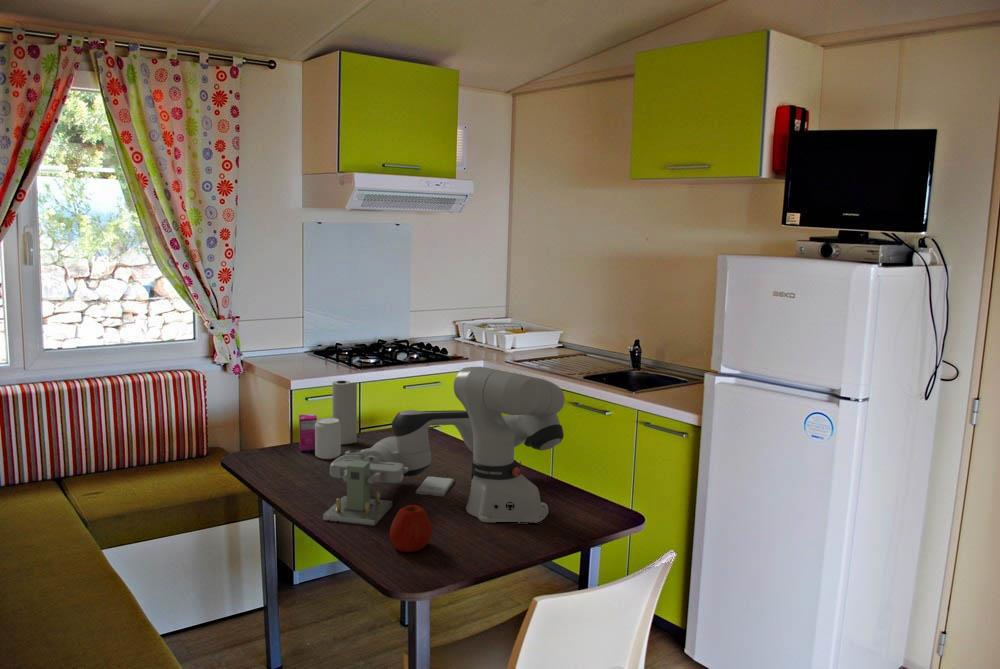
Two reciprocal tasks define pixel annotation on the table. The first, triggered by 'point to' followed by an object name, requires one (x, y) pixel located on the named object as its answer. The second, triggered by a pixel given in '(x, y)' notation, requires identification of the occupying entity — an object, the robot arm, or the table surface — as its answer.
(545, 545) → the table surface
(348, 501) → the block
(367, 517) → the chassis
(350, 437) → the paper towel roll
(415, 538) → the apple
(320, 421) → the beverage can
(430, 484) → the external hard drive
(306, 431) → the supplement box
